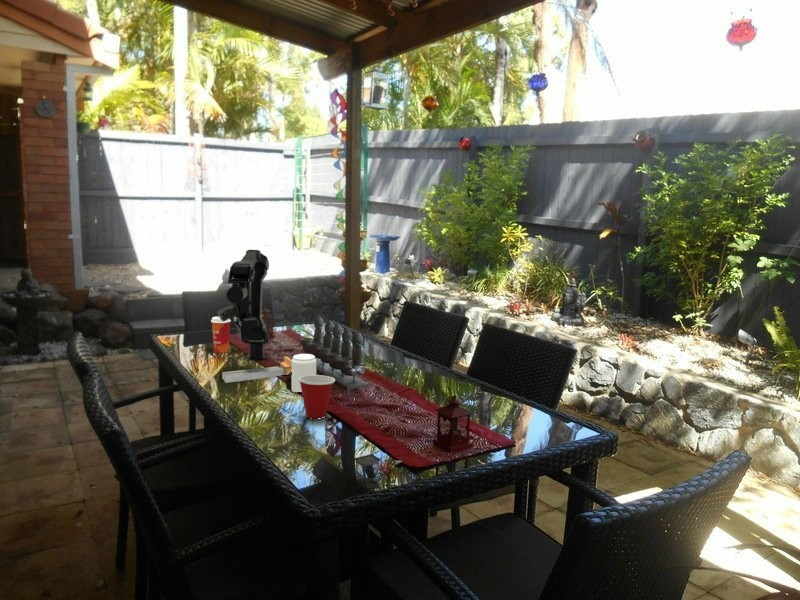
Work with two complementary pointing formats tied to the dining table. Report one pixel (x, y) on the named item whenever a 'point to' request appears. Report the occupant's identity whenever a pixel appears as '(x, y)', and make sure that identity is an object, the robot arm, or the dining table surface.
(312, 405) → the plastic cup
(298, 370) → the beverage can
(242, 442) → the dining table surface
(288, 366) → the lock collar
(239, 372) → the bar
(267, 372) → the base
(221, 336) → the paper cup
